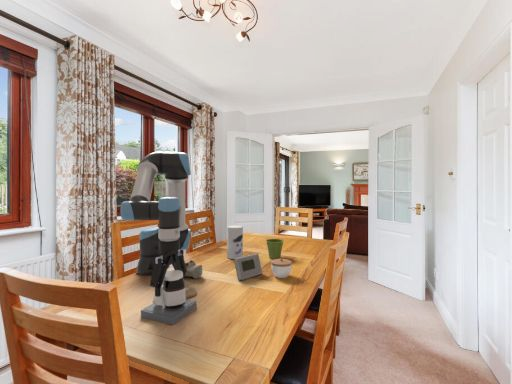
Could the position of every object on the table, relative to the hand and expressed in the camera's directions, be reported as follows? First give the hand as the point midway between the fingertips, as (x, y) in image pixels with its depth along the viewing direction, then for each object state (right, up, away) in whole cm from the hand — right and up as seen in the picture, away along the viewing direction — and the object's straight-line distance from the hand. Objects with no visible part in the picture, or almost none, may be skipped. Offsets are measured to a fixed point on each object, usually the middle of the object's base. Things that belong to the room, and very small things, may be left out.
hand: (169, 298), depth 102 cm
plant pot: (+44, -3, +75) cm, 87 cm away
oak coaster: (+1, -5, +17) cm, 17 cm away
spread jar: (0, -2, 0) cm, 2 cm away
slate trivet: (0, -5, 0) cm, 5 cm away
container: (+19, -3, +76) cm, 78 cm away
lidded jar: (+45, -4, +40) cm, 61 cm away
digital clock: (+28, -4, +40) cm, 49 cm away
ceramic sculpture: (-2, -4, +39) cm, 39 cm away
